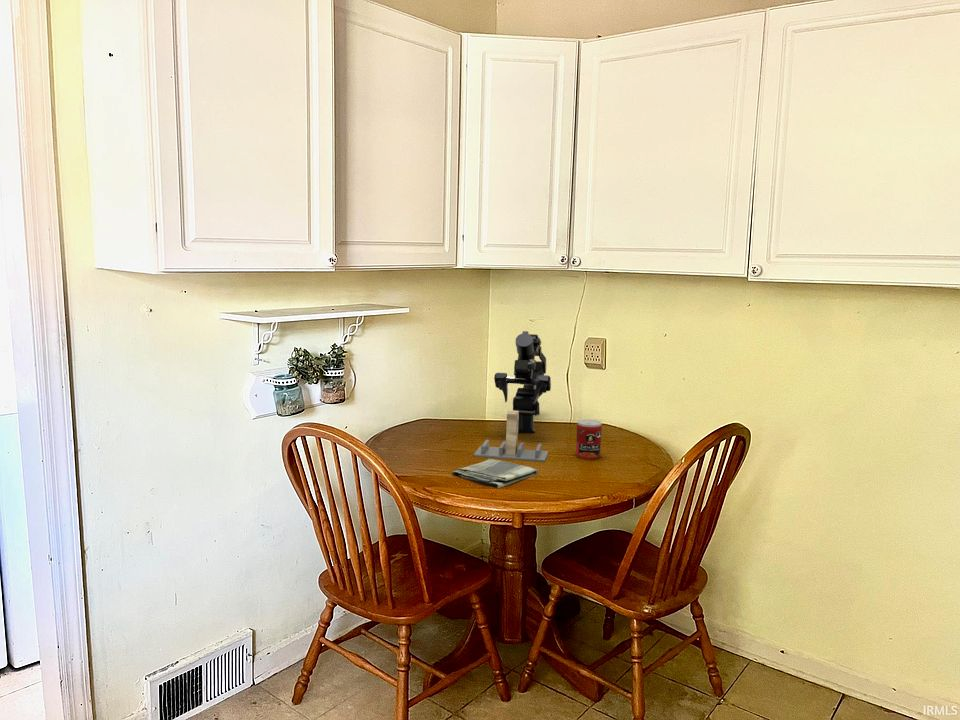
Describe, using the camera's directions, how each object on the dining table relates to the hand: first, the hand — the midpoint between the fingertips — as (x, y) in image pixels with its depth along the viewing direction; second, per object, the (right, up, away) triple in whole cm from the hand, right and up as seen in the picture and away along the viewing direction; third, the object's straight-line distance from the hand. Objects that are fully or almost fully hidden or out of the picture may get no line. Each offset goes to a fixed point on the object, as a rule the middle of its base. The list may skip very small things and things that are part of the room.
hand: (519, 402), depth 239 cm
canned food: (+21, -16, -11) cm, 29 cm away
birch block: (-3, -15, -12) cm, 20 cm away
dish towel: (-9, -19, -32) cm, 39 cm away
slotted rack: (-3, -16, -12) cm, 20 cm away
